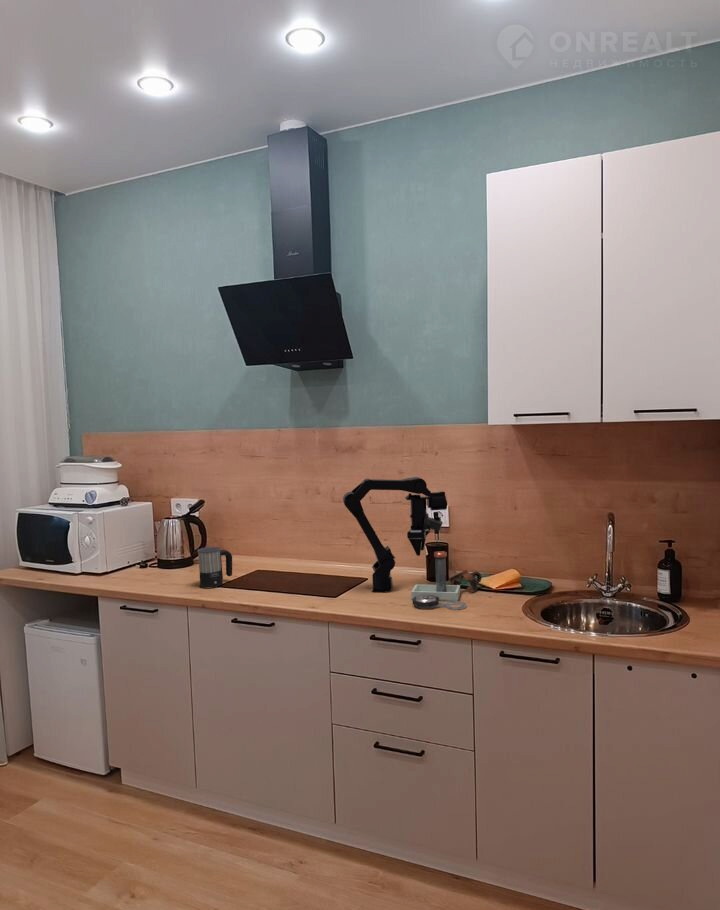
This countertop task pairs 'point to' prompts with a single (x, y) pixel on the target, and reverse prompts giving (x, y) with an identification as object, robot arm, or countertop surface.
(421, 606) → the tensioner
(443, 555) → the pin
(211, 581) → the milk frother
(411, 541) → the robot arm
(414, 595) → the tray
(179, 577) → the countertop surface
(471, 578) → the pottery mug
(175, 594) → the countertop surface
